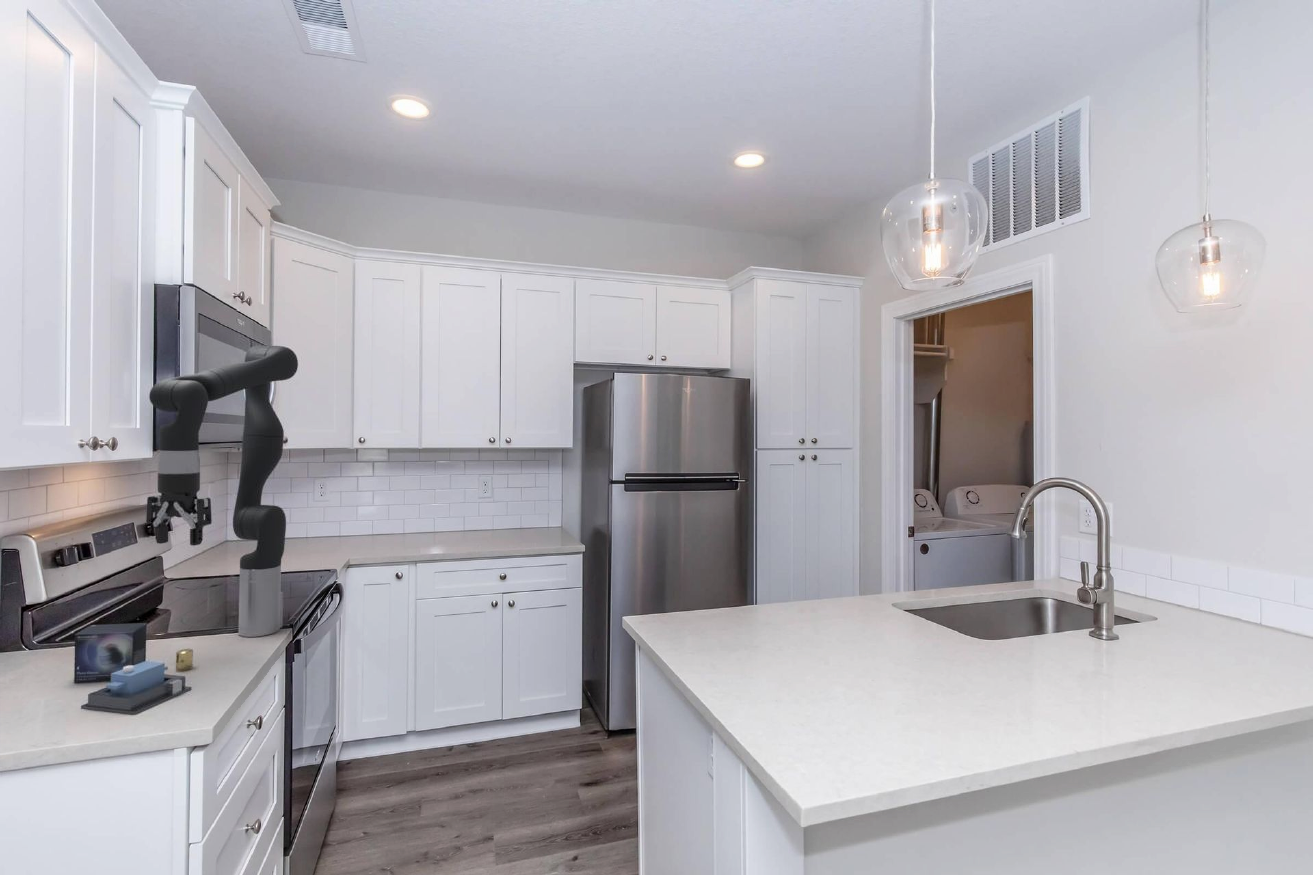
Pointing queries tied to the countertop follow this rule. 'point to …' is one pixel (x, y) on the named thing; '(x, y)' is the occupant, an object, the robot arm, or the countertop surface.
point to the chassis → (137, 697)
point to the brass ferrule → (184, 660)
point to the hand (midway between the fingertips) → (178, 543)
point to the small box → (108, 650)
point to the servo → (137, 677)
